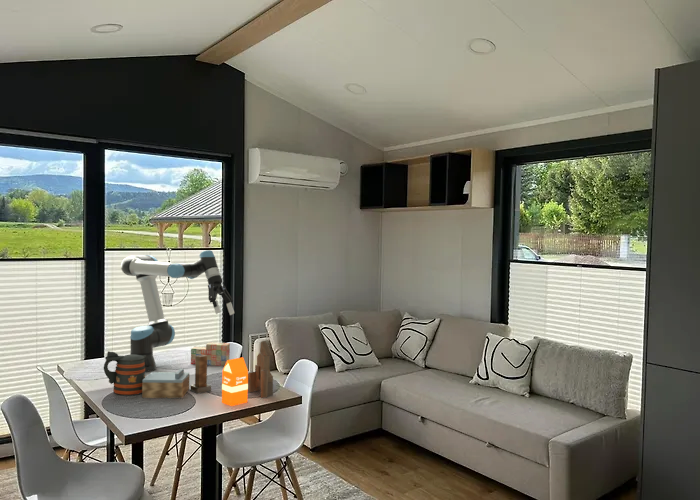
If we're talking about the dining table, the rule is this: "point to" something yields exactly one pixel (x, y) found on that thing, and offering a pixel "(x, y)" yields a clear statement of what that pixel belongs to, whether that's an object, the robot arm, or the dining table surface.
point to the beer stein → (126, 373)
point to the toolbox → (165, 389)
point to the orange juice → (235, 382)
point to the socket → (200, 388)
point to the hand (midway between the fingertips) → (225, 313)
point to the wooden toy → (261, 373)
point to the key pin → (201, 371)
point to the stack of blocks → (212, 353)
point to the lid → (167, 377)
